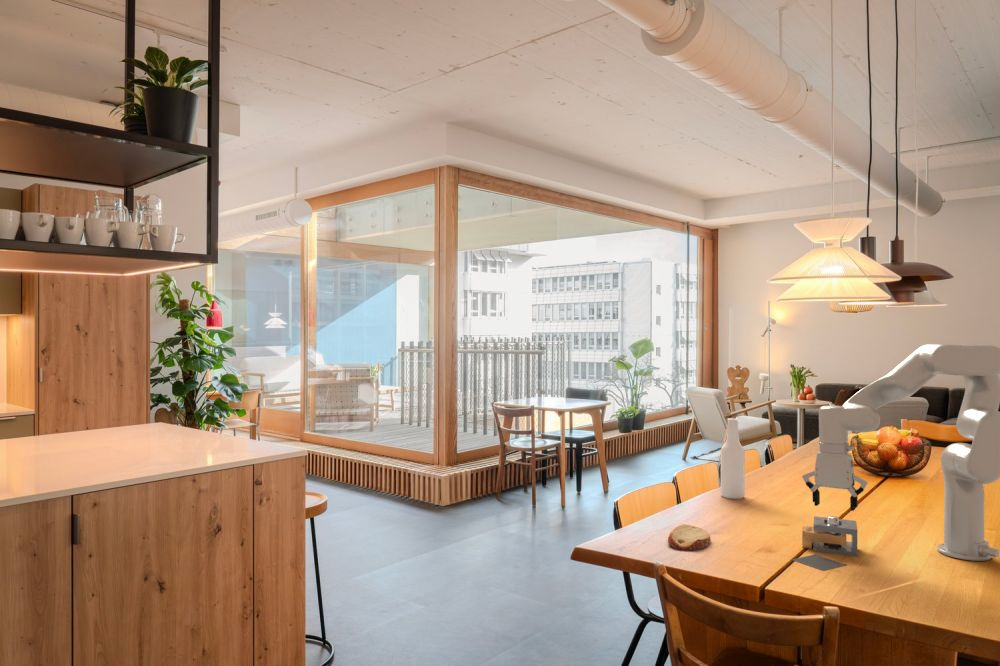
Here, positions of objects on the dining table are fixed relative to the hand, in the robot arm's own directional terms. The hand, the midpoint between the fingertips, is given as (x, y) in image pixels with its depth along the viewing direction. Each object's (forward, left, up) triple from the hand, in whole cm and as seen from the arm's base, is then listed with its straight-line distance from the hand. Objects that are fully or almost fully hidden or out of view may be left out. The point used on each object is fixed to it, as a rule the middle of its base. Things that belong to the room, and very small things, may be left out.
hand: (834, 507), depth 199 cm
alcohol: (+60, -24, -13) cm, 66 cm away
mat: (-6, +14, -13) cm, 20 cm away
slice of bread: (+27, +31, -13) cm, 44 cm away
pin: (0, 0, -13) cm, 13 cm away
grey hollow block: (0, 0, -13) cm, 13 cm away
